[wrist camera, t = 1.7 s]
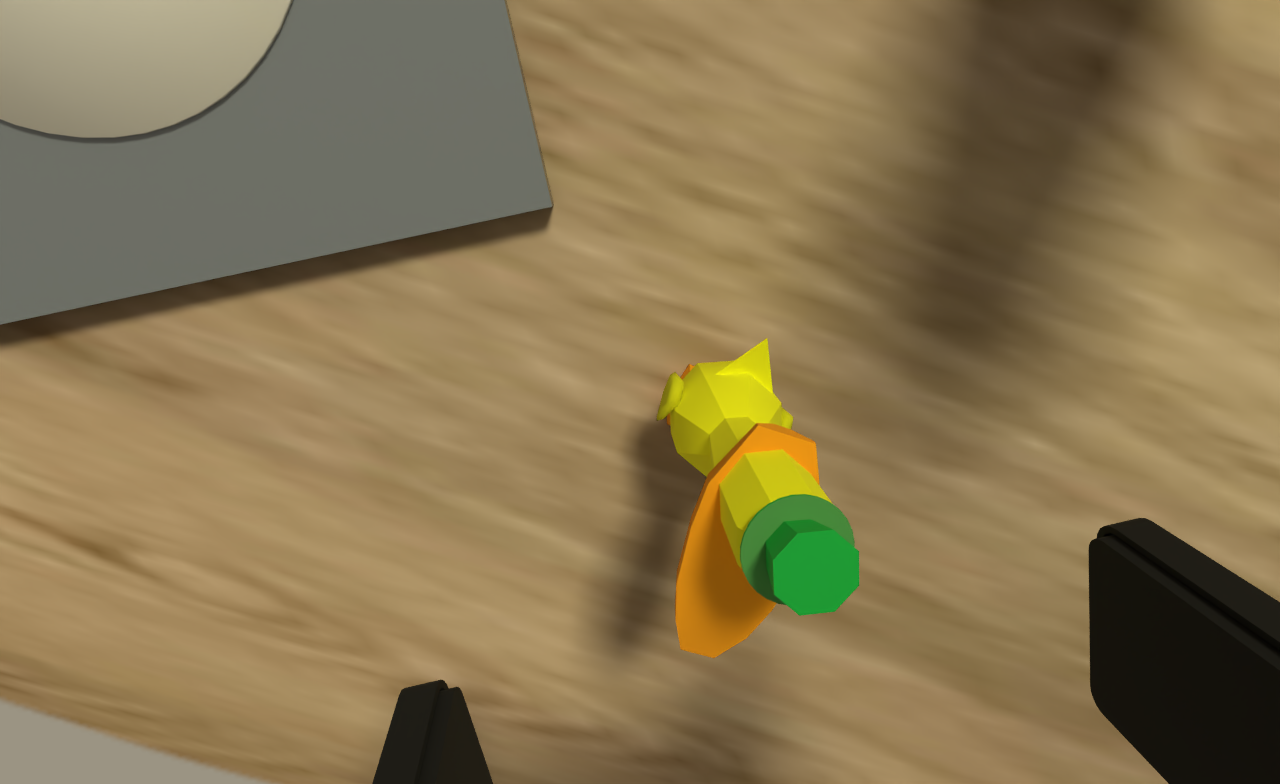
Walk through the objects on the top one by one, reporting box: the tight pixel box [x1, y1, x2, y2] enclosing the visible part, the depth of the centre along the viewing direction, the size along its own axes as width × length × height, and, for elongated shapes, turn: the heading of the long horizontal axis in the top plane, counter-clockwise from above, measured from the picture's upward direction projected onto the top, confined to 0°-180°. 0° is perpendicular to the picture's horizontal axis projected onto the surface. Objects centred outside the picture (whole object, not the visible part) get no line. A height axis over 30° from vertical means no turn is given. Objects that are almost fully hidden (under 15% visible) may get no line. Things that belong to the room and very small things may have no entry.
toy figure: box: [657, 338, 859, 658], centre depth 19 cm, size 7×4×12 cm, turn 161°
